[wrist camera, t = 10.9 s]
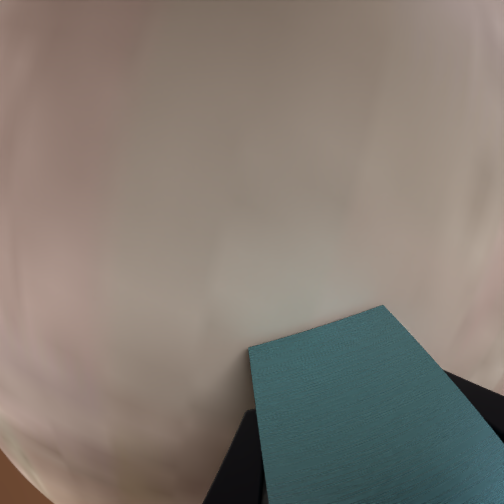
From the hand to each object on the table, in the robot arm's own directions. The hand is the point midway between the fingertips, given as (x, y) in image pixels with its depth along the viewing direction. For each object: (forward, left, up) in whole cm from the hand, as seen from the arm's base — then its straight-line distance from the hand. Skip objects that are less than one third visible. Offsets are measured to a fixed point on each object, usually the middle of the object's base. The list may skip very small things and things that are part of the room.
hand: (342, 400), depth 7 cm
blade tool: (-1, +9, -2) cm, 9 cm away
